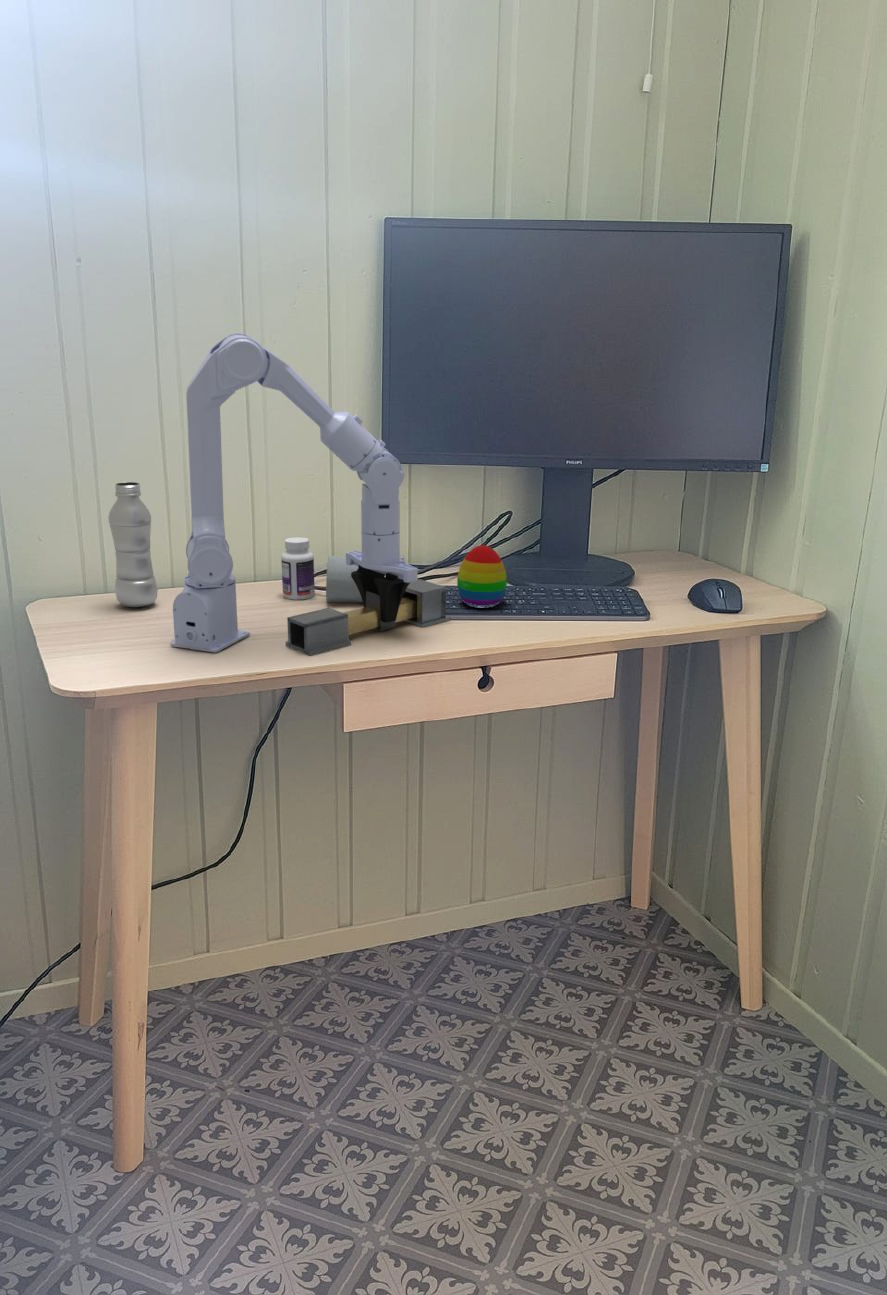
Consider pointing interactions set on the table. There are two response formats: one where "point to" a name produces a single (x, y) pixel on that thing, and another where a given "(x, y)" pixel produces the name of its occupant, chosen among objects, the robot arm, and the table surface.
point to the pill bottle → (297, 569)
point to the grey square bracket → (427, 603)
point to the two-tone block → (378, 613)
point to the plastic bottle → (132, 547)
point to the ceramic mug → (341, 581)
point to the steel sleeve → (318, 631)
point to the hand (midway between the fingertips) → (381, 618)
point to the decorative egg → (482, 577)
